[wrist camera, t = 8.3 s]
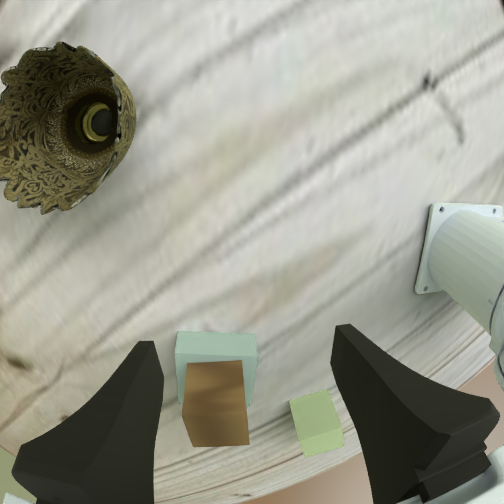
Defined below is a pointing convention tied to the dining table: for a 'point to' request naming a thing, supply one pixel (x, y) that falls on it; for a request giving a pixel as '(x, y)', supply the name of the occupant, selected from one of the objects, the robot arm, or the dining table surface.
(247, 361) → the mint green base block
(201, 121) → the dining table surface
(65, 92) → the cup
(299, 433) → the sage block
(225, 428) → the walnut block
